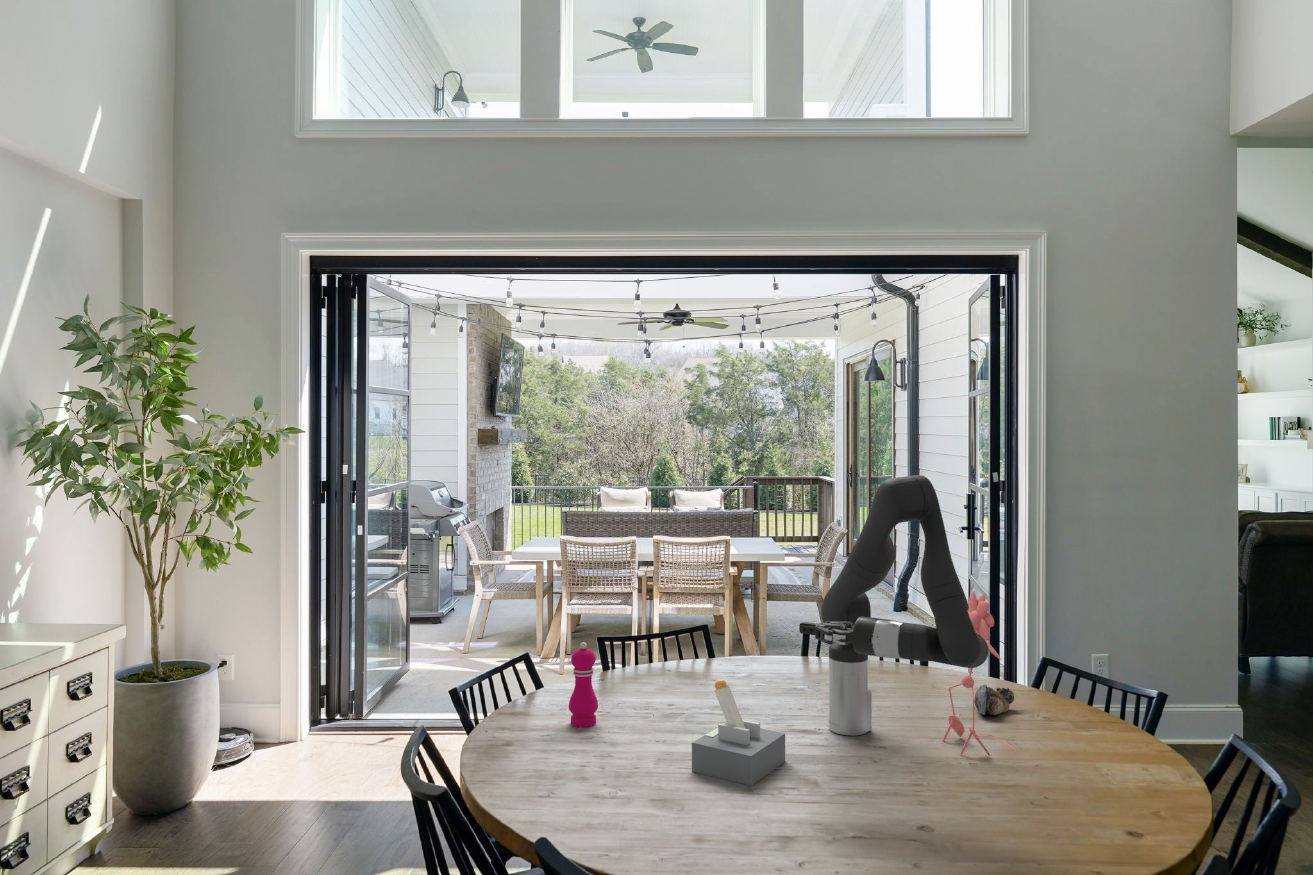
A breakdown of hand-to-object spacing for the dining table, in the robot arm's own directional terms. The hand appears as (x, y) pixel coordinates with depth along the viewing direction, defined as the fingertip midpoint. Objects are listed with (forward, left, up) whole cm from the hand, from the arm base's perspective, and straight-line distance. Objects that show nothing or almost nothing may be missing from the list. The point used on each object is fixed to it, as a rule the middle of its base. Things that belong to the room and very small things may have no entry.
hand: (800, 627), depth 181 cm
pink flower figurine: (-45, +3, -30) cm, 54 cm away
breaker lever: (+11, -7, -23) cm, 26 cm away
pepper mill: (+34, -46, -30) cm, 65 cm away
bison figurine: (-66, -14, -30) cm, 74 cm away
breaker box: (+11, -7, -30) cm, 33 cm away
